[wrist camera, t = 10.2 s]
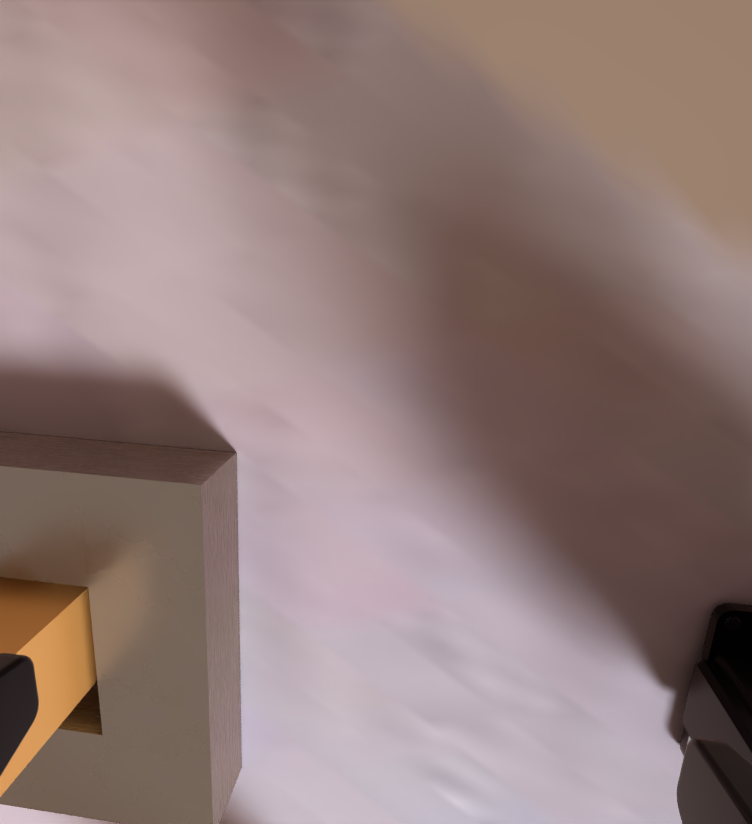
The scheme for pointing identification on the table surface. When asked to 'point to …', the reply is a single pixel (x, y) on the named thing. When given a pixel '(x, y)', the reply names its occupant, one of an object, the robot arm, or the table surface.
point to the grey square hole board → (134, 622)
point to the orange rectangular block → (47, 654)
